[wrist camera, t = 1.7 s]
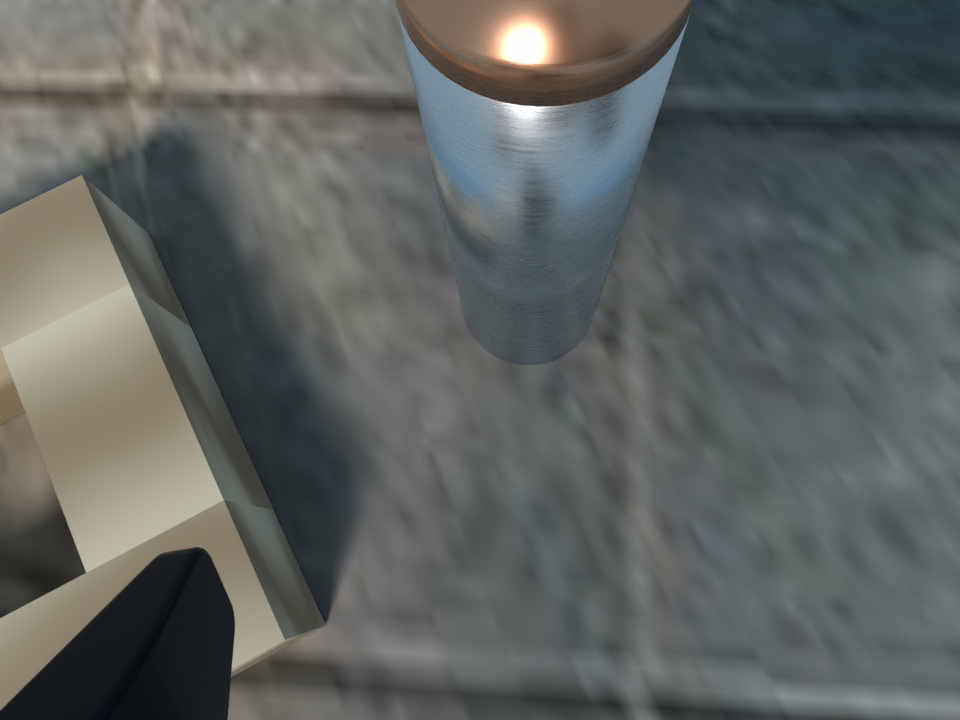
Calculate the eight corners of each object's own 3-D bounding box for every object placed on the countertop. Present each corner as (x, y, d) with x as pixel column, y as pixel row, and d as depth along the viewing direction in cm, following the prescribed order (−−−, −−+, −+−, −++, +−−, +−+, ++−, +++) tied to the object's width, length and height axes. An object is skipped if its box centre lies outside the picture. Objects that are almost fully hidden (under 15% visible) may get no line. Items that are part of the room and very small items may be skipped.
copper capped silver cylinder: (619, 326, 21) (779, -31, 8) (501, 388, 20) (478, 119, 8) (553, 217, 22) (605, -256, 9) (439, 276, 21) (329, -128, 9)
